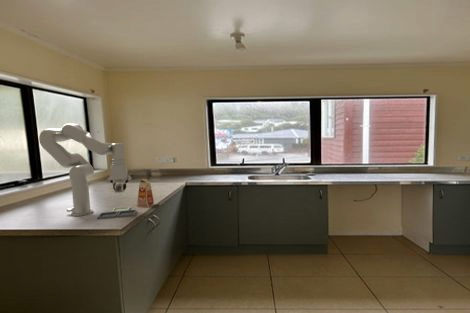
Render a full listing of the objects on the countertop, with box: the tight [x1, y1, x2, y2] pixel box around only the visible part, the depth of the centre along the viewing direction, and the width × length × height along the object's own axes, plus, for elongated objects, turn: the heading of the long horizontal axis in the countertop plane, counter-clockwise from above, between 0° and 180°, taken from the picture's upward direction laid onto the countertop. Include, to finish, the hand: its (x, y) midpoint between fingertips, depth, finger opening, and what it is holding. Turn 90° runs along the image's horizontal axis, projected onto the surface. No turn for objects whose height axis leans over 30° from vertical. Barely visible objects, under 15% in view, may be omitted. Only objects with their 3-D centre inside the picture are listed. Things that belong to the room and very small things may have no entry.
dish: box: [110, 205, 131, 212], centre depth 180 cm, size 10×10×2 cm
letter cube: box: [114, 182, 126, 193], centre depth 177 cm, size 5×5×5 cm
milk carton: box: [136, 178, 155, 208], centre depth 192 cm, size 9×9×20 cm
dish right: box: [116, 209, 138, 218], centre depth 170 cm, size 10×10×2 cm
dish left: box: [96, 211, 119, 220], centre depth 168 cm, size 10×10×2 cm
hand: (119, 189), depth 177 cm, fingers closed on letter cube, 5 cm apart
